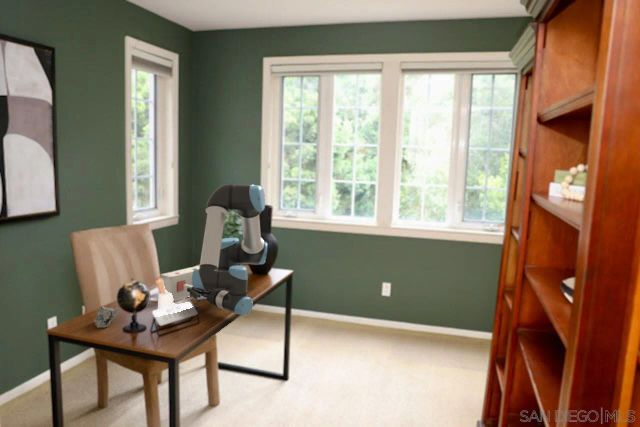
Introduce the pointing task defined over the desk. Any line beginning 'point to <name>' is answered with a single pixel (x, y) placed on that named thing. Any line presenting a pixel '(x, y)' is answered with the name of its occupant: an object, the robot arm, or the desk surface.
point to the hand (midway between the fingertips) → (185, 287)
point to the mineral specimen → (105, 316)
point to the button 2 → (180, 285)
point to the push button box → (178, 276)
